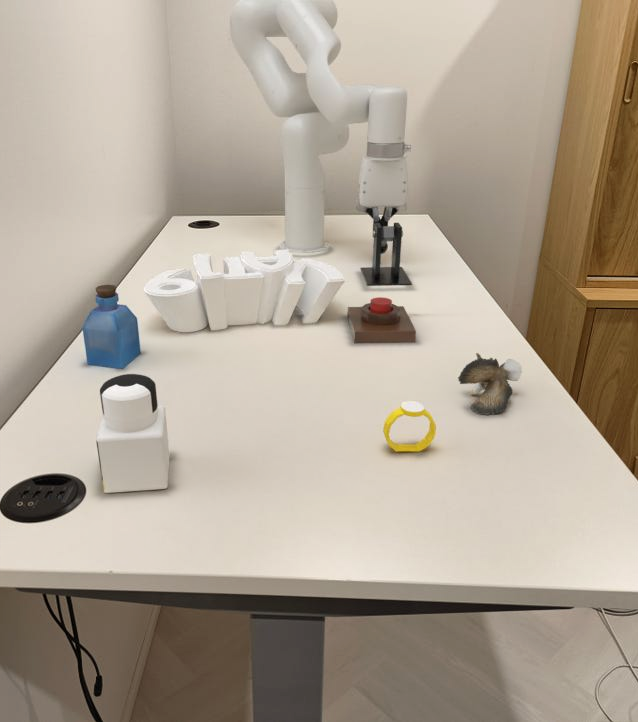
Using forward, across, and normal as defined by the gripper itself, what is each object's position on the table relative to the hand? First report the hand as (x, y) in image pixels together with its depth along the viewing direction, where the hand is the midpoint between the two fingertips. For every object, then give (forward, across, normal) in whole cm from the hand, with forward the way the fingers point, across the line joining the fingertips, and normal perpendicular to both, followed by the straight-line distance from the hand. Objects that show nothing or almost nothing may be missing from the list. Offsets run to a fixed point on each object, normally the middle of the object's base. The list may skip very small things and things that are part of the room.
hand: (379, 237), depth 148 cm
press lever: (+1, 0, +5) cm, 5 cm away
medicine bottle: (+7, +39, +81) cm, 90 cm away
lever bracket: (+7, 0, +9) cm, 11 cm away
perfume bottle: (+7, +49, +48) cm, 69 cm away
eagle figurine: (+6, -6, +63) cm, 64 cm away
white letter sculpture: (+7, +28, +30) cm, 42 cm away
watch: (+6, +7, +76) cm, 77 cm away
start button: (+3, +5, +37) cm, 37 cm away
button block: (+7, +5, +37) cm, 38 cm away
